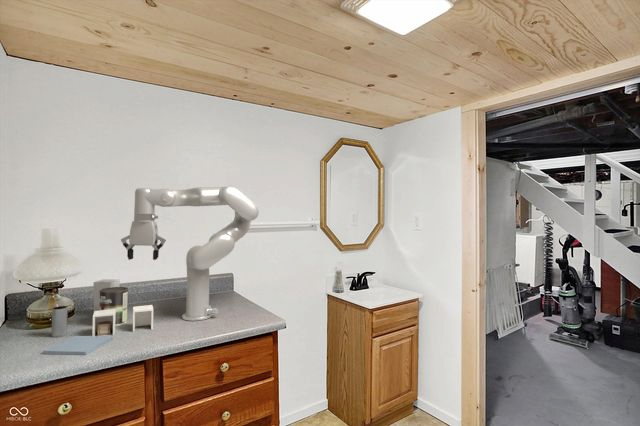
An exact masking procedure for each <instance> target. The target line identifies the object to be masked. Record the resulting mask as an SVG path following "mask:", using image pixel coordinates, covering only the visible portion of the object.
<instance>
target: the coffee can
mask: <svg viewBox="0 0 640 426" xmlns="http://www.w3.org/2000/svg"><path fill="white" fill-rule="evenodd" d="M99 292H100V307H99V311H100V310H110V309H116V322H115V327H119V326H122V325H125V324H126V323H128V298H129V297H128V296H129V288H128V287H125V286H120V287H111V288H105V289H101V290H100V291H99Z"/></svg>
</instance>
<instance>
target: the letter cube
mask: <svg viewBox="0 0 640 426" xmlns="http://www.w3.org/2000/svg"><path fill="white" fill-rule="evenodd" d="M111 332H112V330H111V321H106V322H99V323H98V332H97V336H109V335H111Z"/></svg>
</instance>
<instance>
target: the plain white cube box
mask: <svg viewBox="0 0 640 426" xmlns="http://www.w3.org/2000/svg"><path fill="white" fill-rule="evenodd" d="M142 326H143V327H144V326H150V330H154V307H153V304H148V305H137V306H133V307H132V332H133V333H135V331H136V330H135V328H137V327H142Z"/></svg>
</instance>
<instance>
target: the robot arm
mask: <svg viewBox="0 0 640 426" xmlns="http://www.w3.org/2000/svg"><path fill="white" fill-rule="evenodd" d="M156 206H159V207H162V208H166V207H167V208H169V207H170V208H171V207H209V206H210V207H211V206H213V207H215V206H228V207H229V208H231V209H232V210H234V218H233V220H232V221H231V222H230V223H229V224H228V225H226V226H225V227H223V228H222V229H221V230H218V231H217V232H216V233H213V234H212V235H211V236H210V237H209V239H208V241H207V242H206V243H204V244H203V245H195V246H191V248H190V249H188V251H187V253H186V259H185V261H186V262H185V265H186V293H185V294H186V296H185V297H186V299H185V300H186V302H185V303H186V307H185V310H186V311H185V312H184V313H183V314H182V315H181V316H182V319H183V320H184V321H193V322H194V321H203V320H204V321H205V320H207V319H210V318H212V317H213V315H217V314H219V309H218V308H216V307H214V308H212V306H211V304H210V268H211V267H213V266H214V265H216V264H217V263H218V262H220V261H221V260H223V259H224V258H226V257H227V256H228V255H230V254H231V252H232V251H233V250H234V248H235V245H236V243H237V242H238V241H239V240H240V239H242V238H244V236H245V235H246V234H247V233H248V231H249V230H250V227H251V223H252V221H255V220H256V219H257V218H258V216H259V213H260V211H259V207H258V206H257V204H256V203H255V202H254V201H252V200H251V199H250V198H249V197H248V196H246V194H244V193H243V192H242V191H241V190H240V189H238V188H237V187H235V186H233V185H227V186H211V187H210V186H204V187H203V186H198V187H193V188H187V189H168V188H158V189H157V188H155V189H154V188H153V189H152V188H147V187H139V188H136V189H135V191H134V208H133V210H134V214H133V221H132V222H131V224H130V225H131V226H130V230H129V235H126V236H125V237H122V238H121V239H120V241H121V244H122V246H123V247H124V248H125V249H126V251H127V255H126V256H127V260H128V261H129V260H133V259H134V249H133V248H134V247H135V246H151V247H152V248H153V251H152V260H154V261H156V260H158V258H159V257H160V256H159V252H160V250H161V248H162V247H163V246H164V244H165V243H166V241H167V239H165V238H163V237H162V236H160V235H159V231H158V229H159V228H158V223H157V221H155V220H158V219H159V215H156V214H155V210H156V209H155V207H156ZM128 240H129V241H128ZM127 241H128V242H129V243H128V242H127ZM159 241H160V243H159ZM158 243H159V244H158Z"/></svg>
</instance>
